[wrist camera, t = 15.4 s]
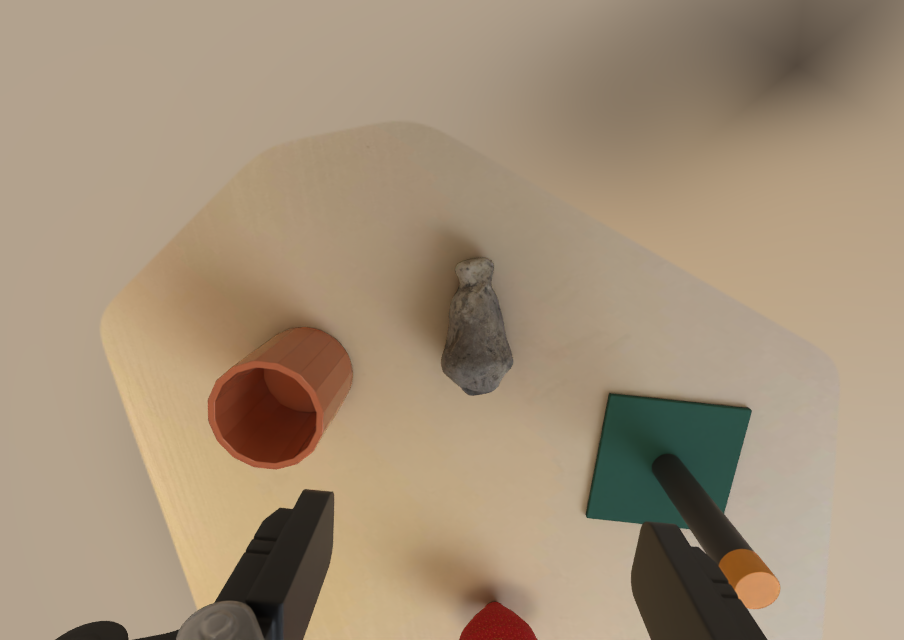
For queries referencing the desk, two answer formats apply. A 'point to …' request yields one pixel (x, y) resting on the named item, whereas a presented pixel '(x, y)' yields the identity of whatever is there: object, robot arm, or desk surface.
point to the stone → (476, 332)
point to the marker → (717, 534)
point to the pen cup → (280, 398)
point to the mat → (656, 433)
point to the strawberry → (497, 625)
